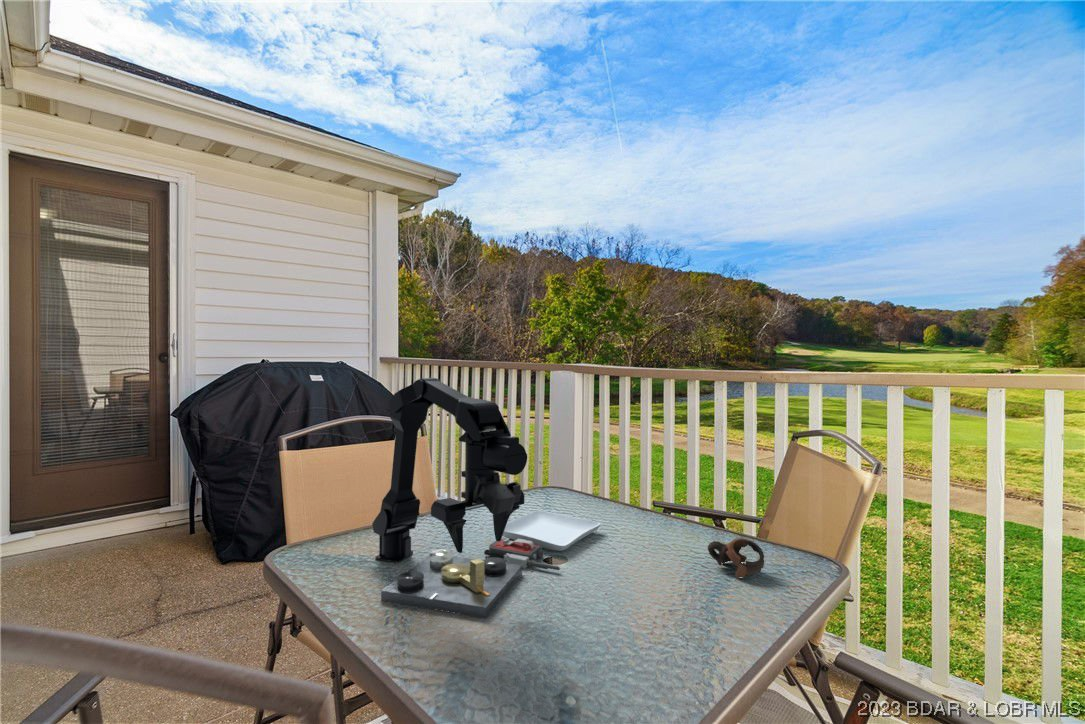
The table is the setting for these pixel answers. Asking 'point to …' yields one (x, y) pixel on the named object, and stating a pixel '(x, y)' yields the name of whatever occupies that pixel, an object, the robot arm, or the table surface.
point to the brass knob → (465, 574)
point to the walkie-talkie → (518, 553)
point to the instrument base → (452, 585)
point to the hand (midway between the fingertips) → (479, 546)
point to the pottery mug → (737, 556)
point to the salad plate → (550, 529)
